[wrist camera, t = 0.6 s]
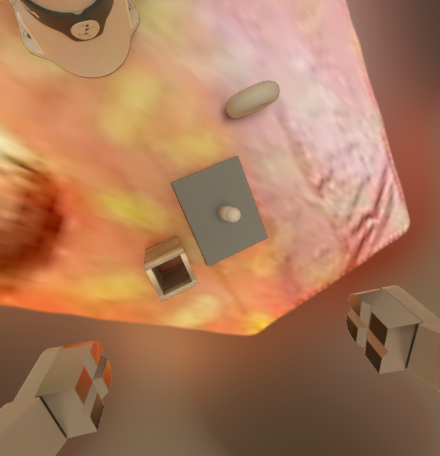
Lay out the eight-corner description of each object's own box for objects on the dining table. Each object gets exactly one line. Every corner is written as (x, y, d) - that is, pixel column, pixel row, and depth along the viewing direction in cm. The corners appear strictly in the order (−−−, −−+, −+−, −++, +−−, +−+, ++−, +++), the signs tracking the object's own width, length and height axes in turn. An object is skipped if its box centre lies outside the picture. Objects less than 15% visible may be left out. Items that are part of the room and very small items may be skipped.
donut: (223, 126, 51) (240, 111, 42) (217, 108, 51) (232, 89, 41) (267, 109, 53) (293, 90, 44) (261, 91, 52) (286, 69, 43)
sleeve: (145, 249, 51) (143, 266, 39) (175, 235, 52) (182, 248, 40) (159, 277, 52) (161, 302, 41) (188, 264, 53) (198, 283, 42)
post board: (170, 183, 50) (175, 181, 41) (235, 156, 53) (253, 148, 43) (206, 264, 54) (218, 279, 45) (264, 236, 57) (287, 245, 47)
